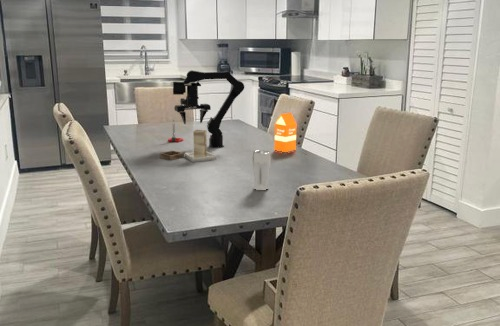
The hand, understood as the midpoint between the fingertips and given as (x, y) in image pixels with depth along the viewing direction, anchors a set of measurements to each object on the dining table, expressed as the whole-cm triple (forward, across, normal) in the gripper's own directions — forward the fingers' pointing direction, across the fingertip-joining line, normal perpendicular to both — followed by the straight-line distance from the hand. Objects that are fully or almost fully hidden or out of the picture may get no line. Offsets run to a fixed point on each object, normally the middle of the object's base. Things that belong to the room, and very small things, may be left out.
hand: (192, 123), depth 262 cm
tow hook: (+13, +3, -21) cm, 25 cm away
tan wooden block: (+12, +6, +26) cm, 29 cm away
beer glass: (+13, +4, +84) cm, 85 cm away
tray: (+13, +6, +26) cm, 30 cm away
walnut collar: (+13, +18, +18) cm, 29 cm away
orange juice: (+13, -41, +29) cm, 52 cm away
